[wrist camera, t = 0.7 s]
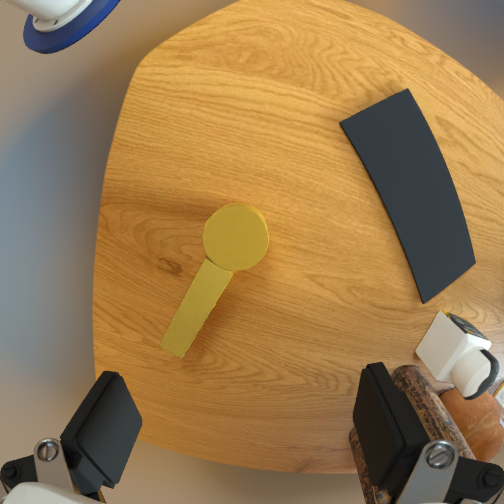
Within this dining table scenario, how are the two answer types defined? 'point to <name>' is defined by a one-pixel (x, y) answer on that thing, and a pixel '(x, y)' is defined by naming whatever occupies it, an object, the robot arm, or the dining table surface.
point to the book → (431, 417)
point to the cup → (500, 400)
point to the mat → (414, 189)
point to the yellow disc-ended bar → (217, 268)
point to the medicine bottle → (458, 355)
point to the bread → (476, 422)
